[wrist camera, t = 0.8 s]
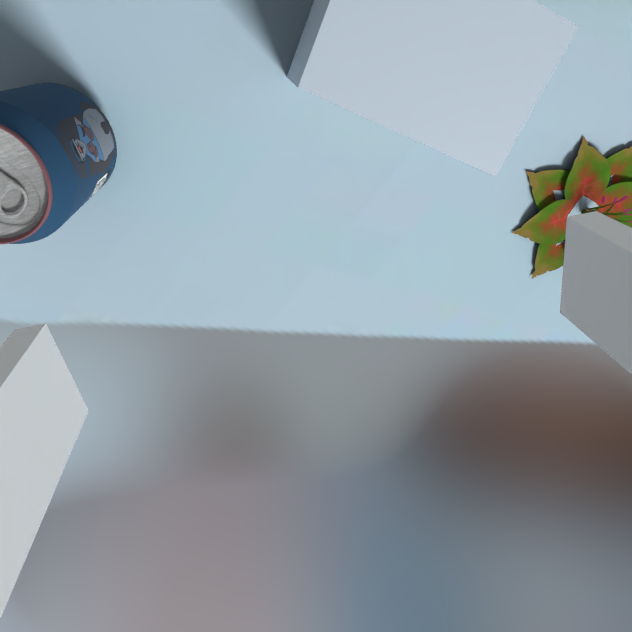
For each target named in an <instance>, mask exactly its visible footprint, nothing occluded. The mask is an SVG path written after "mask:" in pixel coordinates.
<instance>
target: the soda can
mask: <svg viewBox="0 0 632 632" xmlns="http://www.w3.org/2000/svg"><path fill="white" fill-rule="evenodd" d="M116 157H117V148H116V141H115V137H114V133H113V130H112V128H111V126H110V124H109V122H108V120H107V119H106V117H105V116H104V114H103V113H102V112H101V110H100V109H99V108H98V107H97V106H96V105H95V104H94V103H93V102H92V101H91V100H89V99H88V98H87V97H85V96H84V95H82V94H81V93H79V92H77V91H75V90H73V89H71V88H68V87H65V86H62V85H58V84H50V83H42V84H35V85H30V86H25V87H20V88H15V89H10V90H5V91H1V92H0V244H8V243H9V244H21V243H29V242H34V241H37V240H40V239H43V238H45V237H47V236H49V235H50V234H52V233H53V232H55V231H56V230H57V229H58V228H60V227H61V226H62V225H63V224H64V223H65V222H66V221H67V220H68V219H69V218H70V217H71V216H72V215H73V214H74V213H75V212H76V211H77V210H78V209H79V208H80V207H81V206H82V205H83V204H84V203H85V202H86V201H88V200H89V199H90V198H91V197H92V196H93V195H94V194H95V193H96V192H97V191H98V190H99V189H100V188H101V187H102V186H103V185H104V184H105V183H106V182H107V180H108V179H109V178H110V176H111V174H112V172H113V170H114V167H115V163H116Z"/></svg>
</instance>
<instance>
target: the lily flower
mask: <svg viewBox="0 0 632 632" xmlns="http://www.w3.org/2000/svg"><path fill="white" fill-rule="evenodd" d="M527 174H528V176H529V180H530V185H531V186H532V187H533V189H532V193H533V197H534V200H535V203H536V205H537V207H538V209H539V210H540V212H539V213H538V214H536V215H535V216H534V217H532V218H531V219H530V220H528V221H527V222H526V223H525V224H523V226H522V227H521V228H520V229H517V230H515V231H514V232H512V233H514V234H518V235H520V236H523V237H525V238H527V237H528V238H529V239H530V240H531V241H534V242H536V243H539V247H538V251H537V255H536V260H535V267H534V268H535V272H534V273H533V276H532V278H534V277H536V276H537V275H541V274H544V273H546V271H552V270H555V269H557V268H559V267H561V266H563V264H564V250H565V242H564V243H561V244H559V245H557V246H556V244H557V243H559V242H561V241H563V240H564V239H565V237H566V223H567V216H568V214H569V213H570V212H571V210H572V209H573V207H574V206H575V204H576V203H577V202H578V201H579V200H580V198H581V197H582V196H583V195H584V196H585V197H587V198H589V199H591V200H593V201H594V202H595V203H596V204H597V205H598V206H599V207H595V208H586V209H584V211H583V212H581V213H582V214H585V212H586V213H589V212H594V211H597V212H599V213H602V214H604V215H606V216H608V217H610V218H612V219H614V220H616V221H618V222H620V223H622V224H624V225H626V226H628V227H630V228H632V146H631V147H630V148H629V149H627V148H626V149H623V150H621V151H620V152H618V153H616V154H614V155H612V156H610V157H609V158H607V159H606V158H605V157H604V156H603V155H602V154H601V153H600V152H598V151H597V150H596V149H595V148H594V147H591V146H589V145H588V142H587V141H586V139H585V138H584V136H583V140H582V144H581V146H580V149H579V151H578V156H577V157H576V159H575V161H574V164H573V167H572V169H571V171H567V170H547V171H540V172H539V173H534V172H527ZM613 174H614V175H613ZM611 175H613V179H612V182H611V186H609V187H607V185H608V183H609V181H610V176H611ZM606 187H607V188H606ZM553 190H565V192H564V193H565V198H566V199H563V200H558V201H556V198H555V195H554V192H553ZM593 209H595V210H593ZM555 246H556V247H555Z"/></svg>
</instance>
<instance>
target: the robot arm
mask: <svg viewBox="0 0 632 632" xmlns="http://www.w3.org/2000/svg"><path fill="white" fill-rule="evenodd" d="M560 313H561V314H562V315H564V316H565V317H566V318H567V319H568V320H569V321H570V322H572V323H573V324H574V325H575V326H576V327H577V328H579V329H580V330H581V331H582V332H583V333H584V334H586V335H587V336H588V337H589V338H590V339H591V340H593V341H594V342H595V343H596V344H597V345H598V346H599V347H601V348H602V349H603V350H604V351H605V352H606V353H608V354H609V355H610V356H611V357H612V358H614V359H615V360H616V361H617V362H618V363H619V364H620V365H621V366H623V367H624V368H625V369H626V370H627V371H628V372H630V373H631V374H632V228H630V227H628V226H626V225H624V224H622V223H620V222H618V221H616V220H614V219H612V218H610V217H608V216H606V215H604V214H602V213H599V212H597V211H594V212H589V213H585V214H580V215H575V216H570V217H567V223H566V237H565V250H564V264H563V277H562V291H561V305H560ZM87 413H88V409H87V407H86V405H85V403H84V401H83V399H82V397H81V395H80V393H79V391H78V389H77V386H76V384H75V383H74V380H73V378H72V376H71V374H70V372H69V370H68V368H67V366H66V364H65V362H64V360H63V358H62V356H61V354H60V352H59V350H58V348H57V346H56V344H55V342H54V340H53V338H52V335H51V333H50V331H49V329H48V327H47V325H46V324H41V325H36V326H31V327H26V328H22V329H17V330H14V331H13V332H12V334H11V335H10V336H9V337H8V338H7V340H6V341H5V342H4V343H3V345H2V346H1V347H0V618H1V615H2V613H3V611H4V608H5V606H6V604H7V601H8V599H9V596H10V594H11V592H12V590H13V587H14V585H15V582H16V580H17V578H18V576H19V573H20V571H21V568H22V566H23V564H24V561H25V559H26V557H27V554H28V552H29V550H30V547H31V545H32V543H33V540H34V538H35V536H36V533H37V531H38V529H39V526H40V523H41V521H42V519H43V516H44V514H45V512H46V510H47V507H48V505H49V503H50V500H51V498H52V495H53V493H54V491H55V489H56V486H57V484H58V481H59V479H60V477H61V474H62V472H63V470H64V467H65V465H66V463H67V460H68V458H69V456H70V453H71V451H72V448H73V446H74V444H75V442H76V439H77V437H78V434H79V432H80V430H81V427H82V425H83V423H84V420H85V418H86V416H87Z"/></svg>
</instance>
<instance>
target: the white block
mask: <svg viewBox="0 0 632 632" xmlns="http://www.w3.org/2000/svg"><path fill="white" fill-rule="evenodd" d="M578 28H579V26H578V25H576V24H574V23H573V22H571V21H569V20H567V19H566V18H564V17H562V16H561V15H559V14H557V13H555V12H554V11H552V10H550V9H549V8H547V7H545V6H543V5H542V4H540V3H538V2H537V1H535V0H314V2H313V5H312V7H311V10H310V13H309V16H308V19H307V21H306V24H305V27H304V30H303V33H302V35H301V38H300V41H299V44H298V47H297V49H296V52H295V55H294V58H293V60H292V63H291V66H290V69H289V72H288V74H287V78H288V79H289V80H290V81H292V82H293V83H294V84H295V85H296V86H297V87H298V88H300V89H302V90H305V91H307V92H309V93H311V94H313V95H316V96H318V97H320V98H322V99H325V100H327V101H329V102H331V103H333V104H336V105H338V106H340V107H342V108H344V109H347V110H349V111H351V112H353V113H356V114H358V115H360V116H362V117H364V118H367V119H369V120H371V121H373V122H375V123H378V124H380V125H382V126H384V127H387V128H389V129H391V130H393V131H395V132H398V133H400V134H402V135H404V136H407V137H409V138H411V139H413V140H415V141H418V142H420V143H422V144H424V145H426V146H429V147H431V148H433V149H435V150H438V151H440V152H442V153H444V154H446V155H449V156H451V157H453V158H455V159H458V160H460V161H462V162H464V163H466V164H469V165H471V166H473V167H475V168H477V169H480V170H482V171H484V172H486V173H489V174H491V175H493V176H495V177H496V175H497V173H498V171H499V169H500V168H501V166H502V164H503V162H504V160H505V159H506V157H507V155H508V153H509V151H510V150H511V148H512V146H513V144H514V142H515V141H516V139H517V137H518V135H519V133H520V132H521V130H522V128H523V126H524V125H525V123H526V121H527V119H528V117H529V116H530V114H531V112H532V110H533V108H534V107H535V105H536V103H537V101H538V99H539V98H540V96H541V94H542V92H543V90H544V89H545V87H546V85H547V83H548V81H549V80H550V78H551V76H552V74H553V73H554V71H555V69H556V67H557V65H558V64H559V62H560V60H561V58H562V56H563V55H564V53H565V51H566V49H567V47H568V46H569V44H570V42H571V40H572V38H573V37H574V35H575V33H576V31H577V29H578Z"/></svg>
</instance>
